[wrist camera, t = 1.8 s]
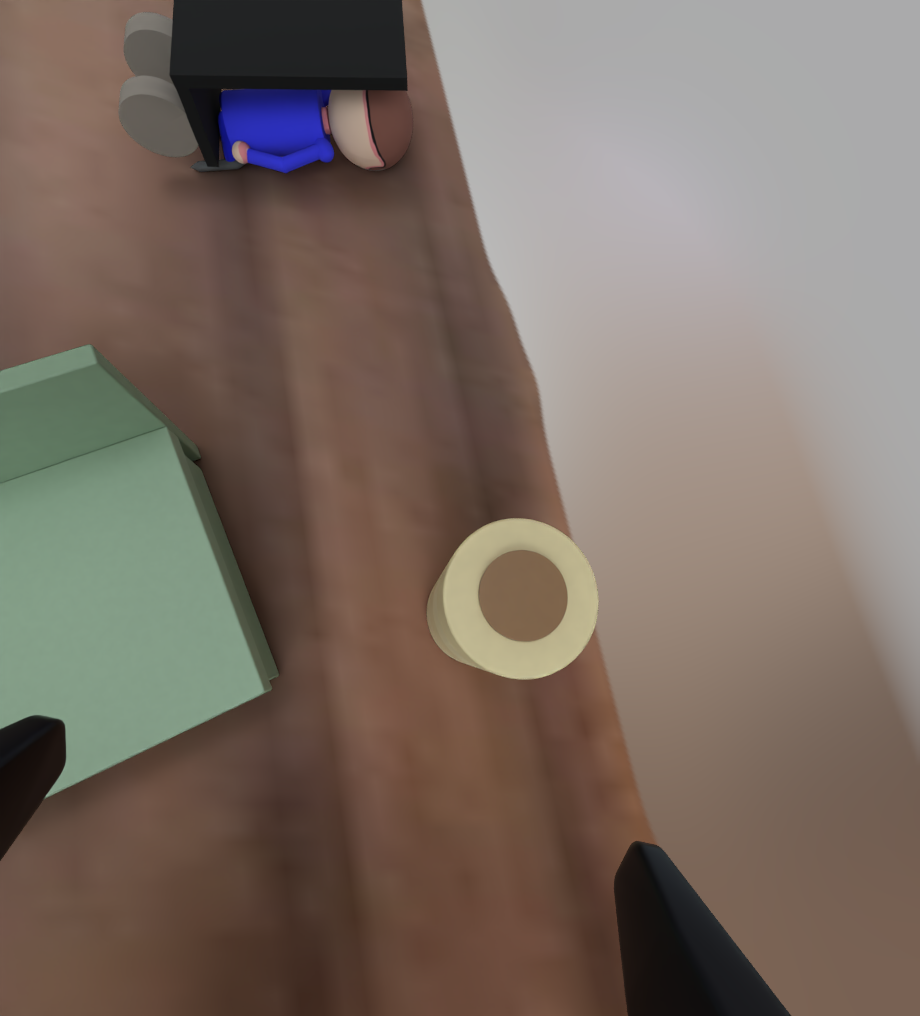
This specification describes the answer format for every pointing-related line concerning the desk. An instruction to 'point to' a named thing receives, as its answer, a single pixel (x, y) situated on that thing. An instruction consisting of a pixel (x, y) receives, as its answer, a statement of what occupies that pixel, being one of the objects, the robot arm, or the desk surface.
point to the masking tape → (514, 600)
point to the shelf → (113, 569)
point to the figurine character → (269, 82)
